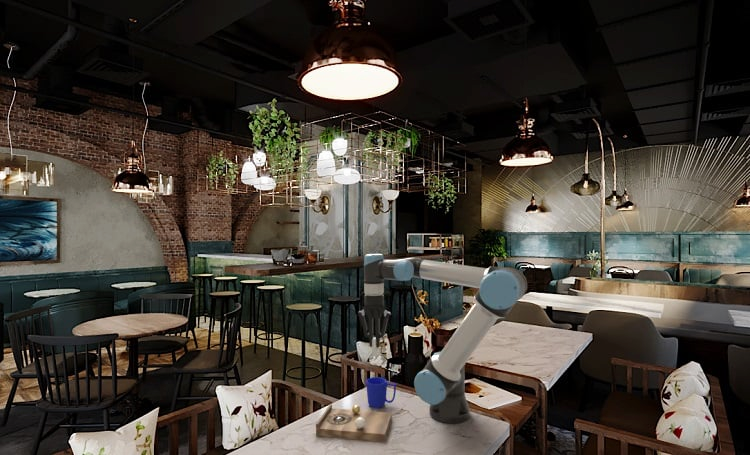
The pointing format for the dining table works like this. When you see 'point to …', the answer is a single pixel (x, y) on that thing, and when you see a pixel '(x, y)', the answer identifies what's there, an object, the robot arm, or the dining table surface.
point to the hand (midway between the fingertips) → (374, 355)
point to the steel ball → (338, 419)
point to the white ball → (360, 422)
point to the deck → (372, 430)
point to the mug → (378, 391)
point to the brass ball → (356, 409)
